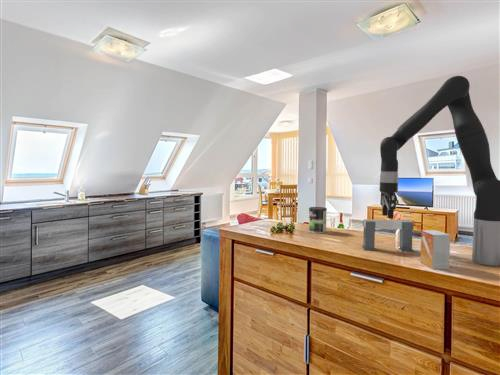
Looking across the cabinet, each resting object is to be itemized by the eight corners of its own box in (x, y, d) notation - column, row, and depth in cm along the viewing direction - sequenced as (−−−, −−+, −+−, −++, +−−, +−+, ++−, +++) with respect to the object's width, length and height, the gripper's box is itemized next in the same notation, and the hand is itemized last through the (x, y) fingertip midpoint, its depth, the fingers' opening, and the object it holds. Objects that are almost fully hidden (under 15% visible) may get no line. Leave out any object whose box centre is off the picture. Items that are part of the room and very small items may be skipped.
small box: (419, 262, 117) (420, 230, 116) (435, 262, 117) (437, 230, 116) (432, 269, 109) (433, 234, 108) (449, 269, 109) (450, 234, 108)
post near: (408, 248, 137) (409, 220, 136) (413, 252, 131) (414, 223, 130) (397, 248, 138) (398, 220, 137) (401, 251, 132) (402, 222, 131)
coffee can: (315, 233, 169) (316, 209, 168) (305, 230, 178) (305, 207, 177) (330, 232, 173) (330, 208, 172) (319, 229, 182) (319, 206, 181)
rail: (409, 227, 135) (409, 220, 135) (412, 229, 132) (412, 221, 132) (363, 226, 138) (363, 219, 138) (365, 228, 135) (365, 220, 135)
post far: (372, 247, 140) (373, 220, 139) (376, 250, 134) (376, 222, 133) (361, 246, 140) (362, 219, 140) (364, 250, 135) (365, 222, 134)
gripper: (403, 182, 126) (401, 219, 127) (392, 181, 140) (391, 214, 141) (384, 182, 127) (383, 219, 128) (376, 180, 141) (374, 214, 142)
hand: (387, 216), depth 135 cm, fingers open, 8 cm apart
